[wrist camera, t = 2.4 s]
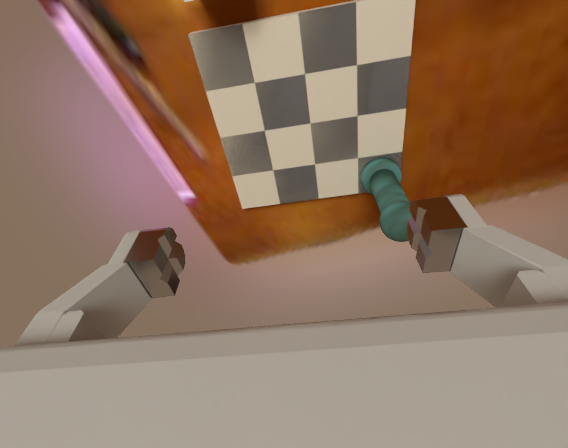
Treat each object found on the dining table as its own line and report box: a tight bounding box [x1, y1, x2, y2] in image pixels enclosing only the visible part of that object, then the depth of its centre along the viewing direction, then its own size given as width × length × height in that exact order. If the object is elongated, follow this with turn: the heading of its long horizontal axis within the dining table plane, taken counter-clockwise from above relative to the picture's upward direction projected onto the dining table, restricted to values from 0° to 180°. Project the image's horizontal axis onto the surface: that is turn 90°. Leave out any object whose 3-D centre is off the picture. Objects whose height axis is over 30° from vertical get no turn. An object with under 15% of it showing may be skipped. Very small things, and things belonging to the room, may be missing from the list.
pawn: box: [361, 157, 412, 242], centre depth 33 cm, size 4×4×11 cm
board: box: [188, 0, 416, 209], centre depth 34 cm, size 20×20×1 cm
